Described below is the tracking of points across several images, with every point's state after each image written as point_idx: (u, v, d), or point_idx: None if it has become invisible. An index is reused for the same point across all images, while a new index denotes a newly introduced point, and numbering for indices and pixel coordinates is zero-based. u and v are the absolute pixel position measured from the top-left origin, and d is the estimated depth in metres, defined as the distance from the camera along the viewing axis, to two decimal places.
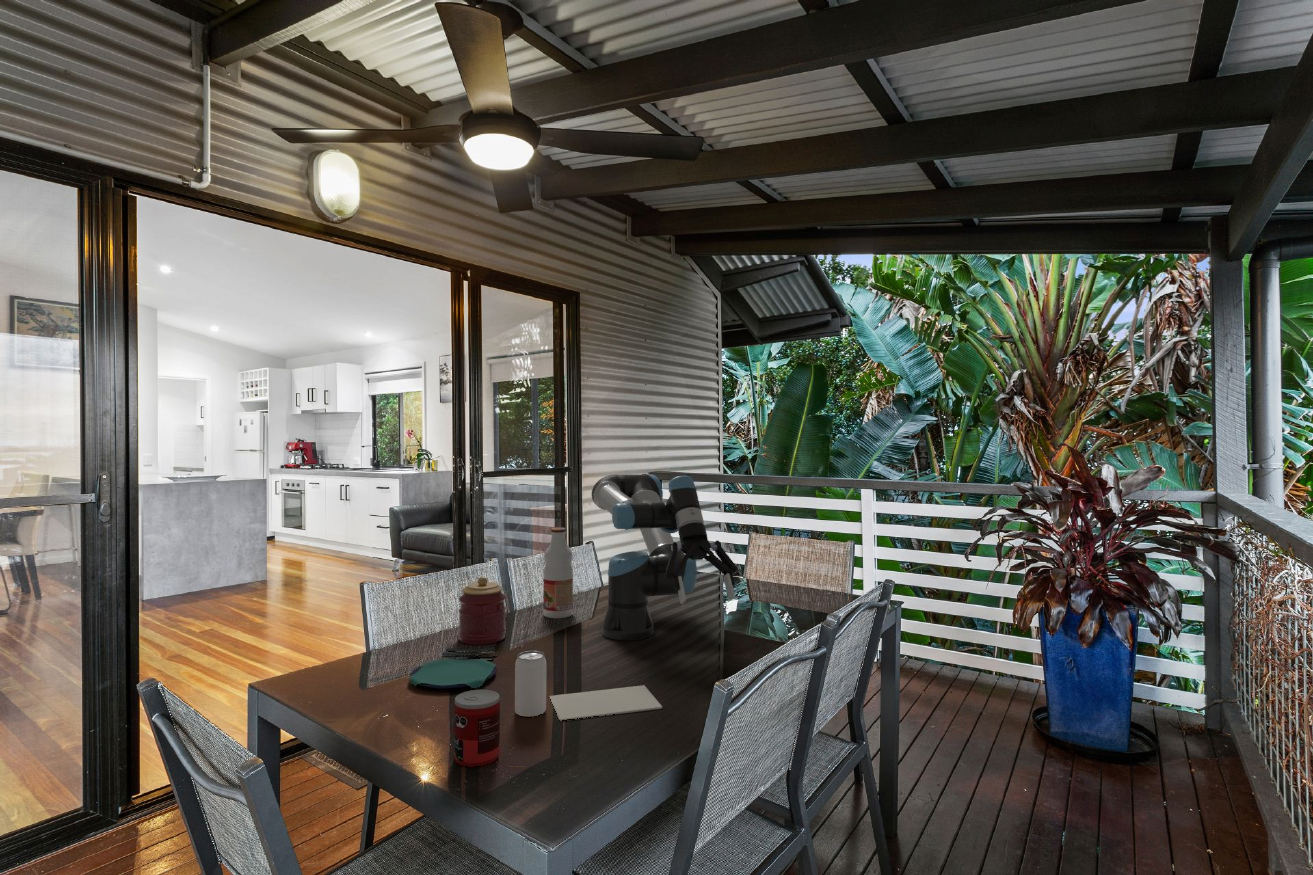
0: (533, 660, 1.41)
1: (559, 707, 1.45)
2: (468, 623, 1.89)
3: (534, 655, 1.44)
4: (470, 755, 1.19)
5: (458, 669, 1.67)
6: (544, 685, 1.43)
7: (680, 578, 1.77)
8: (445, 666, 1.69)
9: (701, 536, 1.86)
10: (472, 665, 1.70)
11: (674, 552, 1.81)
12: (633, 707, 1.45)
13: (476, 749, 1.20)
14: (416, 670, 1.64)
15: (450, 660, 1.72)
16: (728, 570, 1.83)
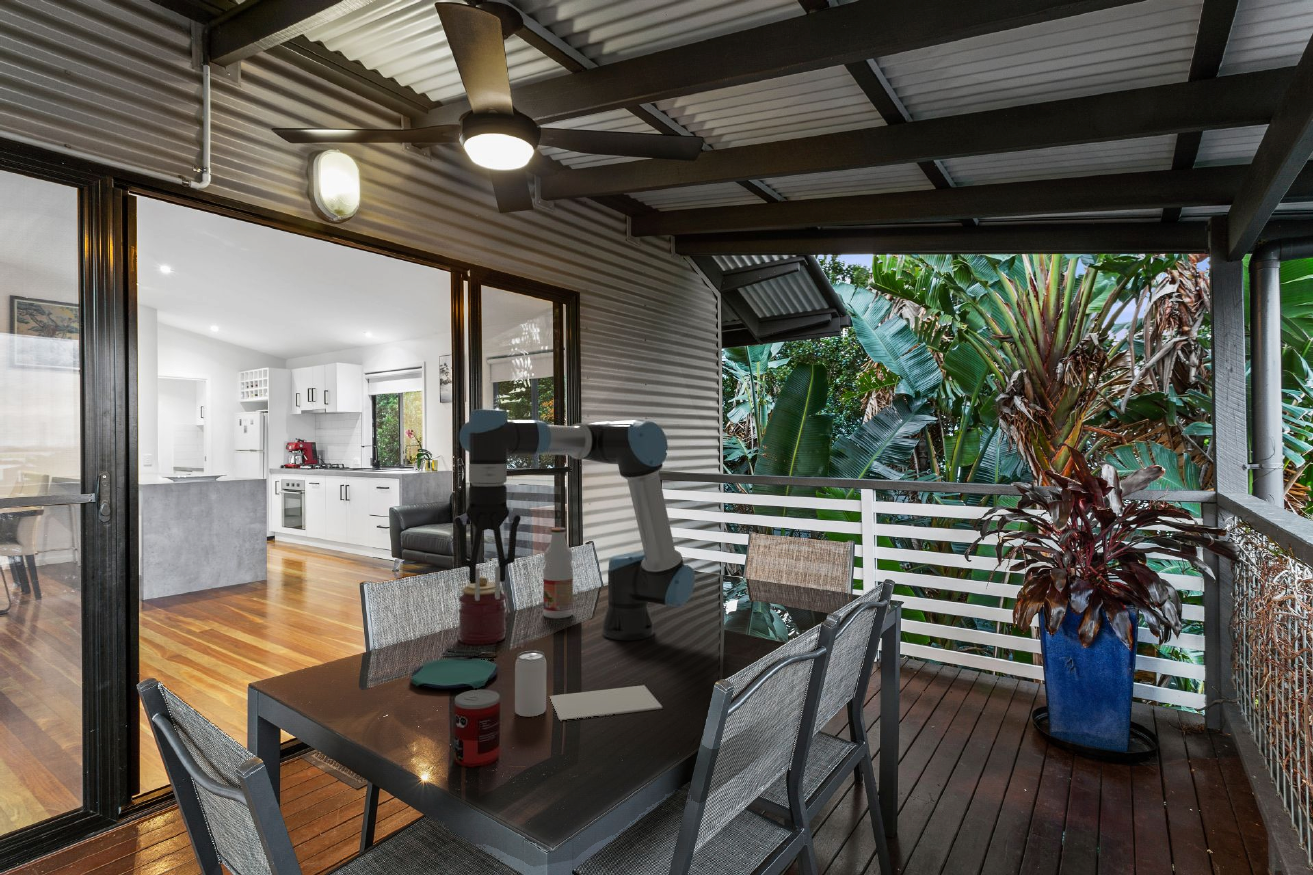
0: (533, 660, 1.41)
1: (559, 707, 1.45)
2: (468, 623, 1.89)
3: (534, 655, 1.44)
4: (470, 755, 1.19)
5: (459, 669, 1.67)
6: (544, 685, 1.43)
7: (477, 571, 1.39)
8: (446, 666, 1.69)
9: None
10: (473, 665, 1.70)
11: (461, 532, 1.38)
12: (633, 707, 1.45)
13: (476, 749, 1.20)
14: (417, 670, 1.64)
15: (451, 660, 1.72)
16: (501, 561, 1.40)
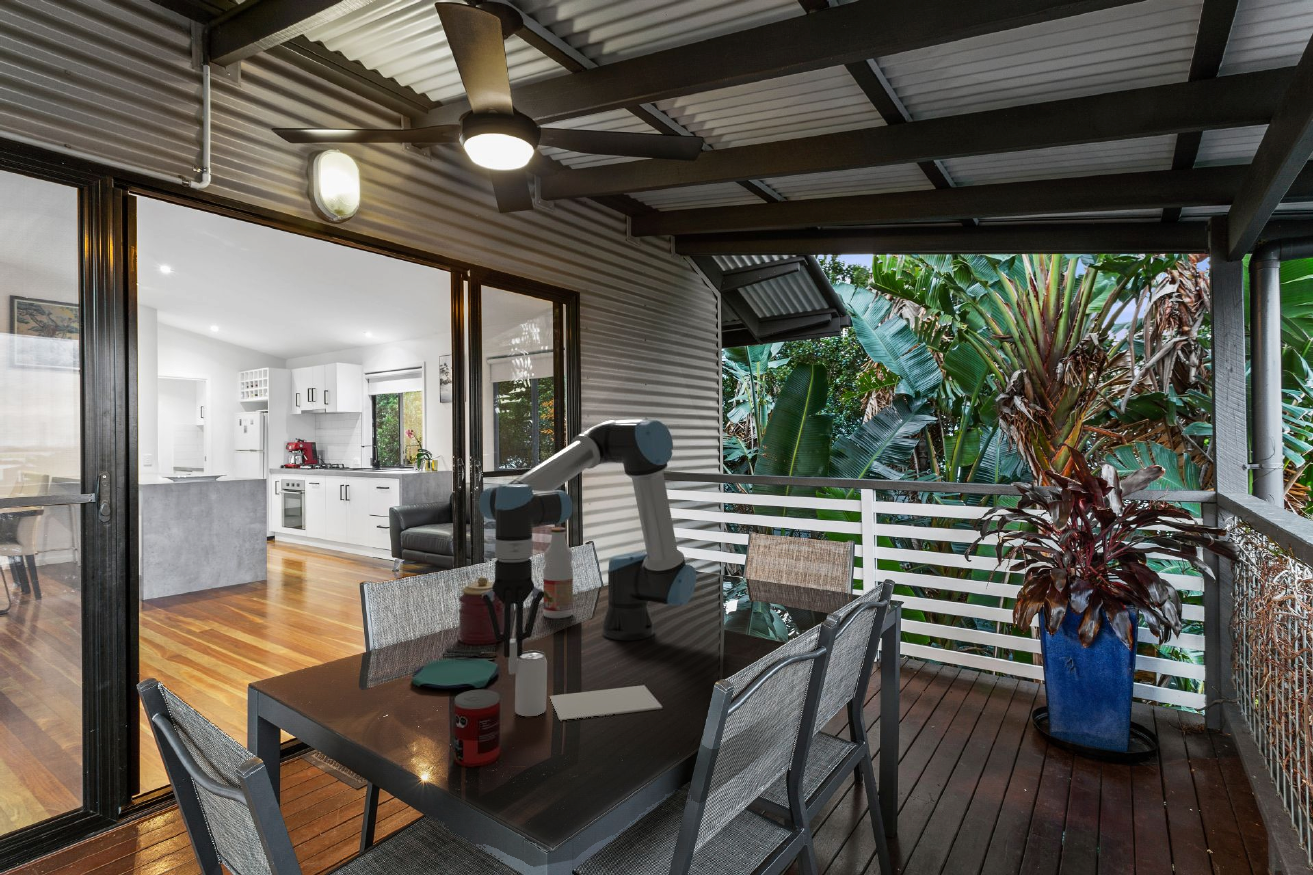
0: (534, 660, 1.41)
1: (559, 707, 1.45)
2: (468, 623, 1.89)
3: (535, 655, 1.44)
4: (470, 755, 1.19)
5: (460, 669, 1.67)
6: (544, 685, 1.43)
7: (511, 645, 1.41)
8: (446, 666, 1.68)
9: None
10: (474, 665, 1.70)
11: (490, 608, 1.40)
12: (633, 707, 1.45)
13: (476, 749, 1.20)
14: (418, 671, 1.64)
15: (451, 660, 1.71)
16: (518, 636, 1.42)
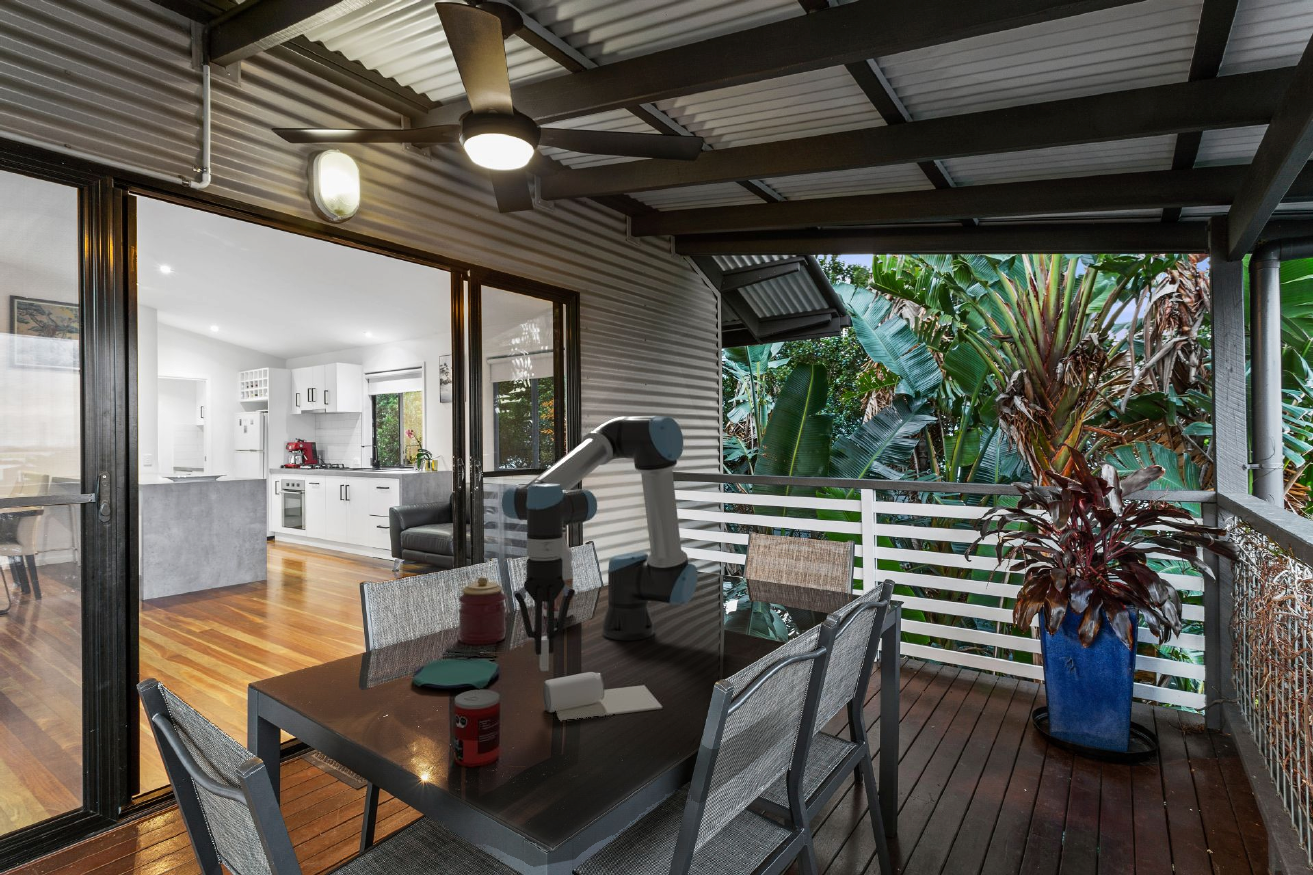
0: (602, 693, 1.46)
1: None
2: (468, 623, 1.89)
3: None
4: (470, 755, 1.19)
5: (460, 669, 1.67)
6: (575, 706, 1.45)
7: (543, 643, 1.43)
8: (447, 666, 1.68)
9: None
10: (474, 665, 1.70)
11: (522, 606, 1.42)
12: (633, 707, 1.45)
13: (476, 749, 1.20)
14: (418, 671, 1.64)
15: (452, 660, 1.71)
16: (550, 633, 1.44)
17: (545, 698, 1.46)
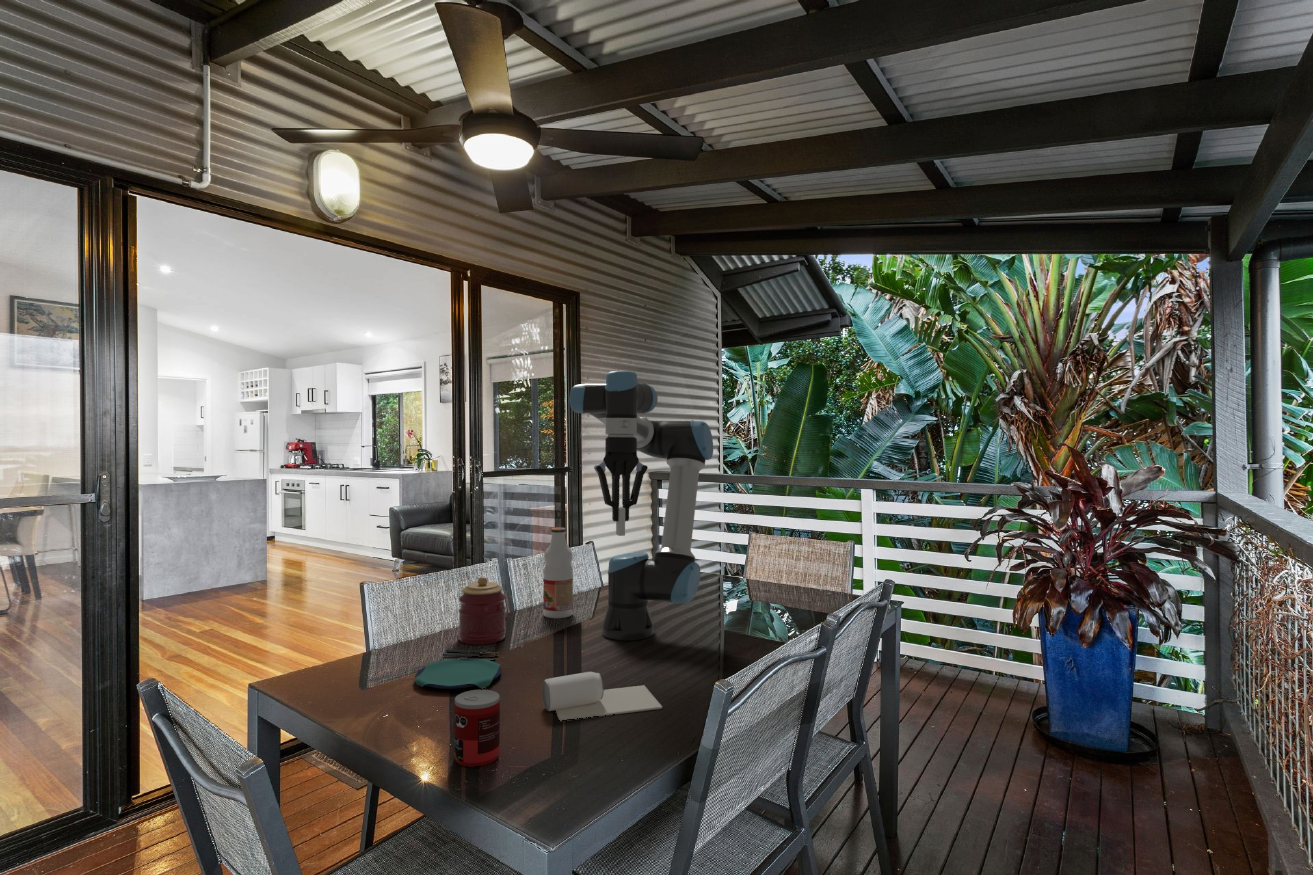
0: (601, 691, 1.47)
1: None
2: (468, 623, 1.89)
3: None
4: (470, 755, 1.19)
5: (462, 669, 1.66)
6: (575, 705, 1.45)
7: (620, 511, 1.62)
8: (448, 667, 1.68)
9: None
10: (476, 665, 1.70)
11: (603, 477, 1.61)
12: (633, 707, 1.45)
13: (476, 749, 1.20)
14: (420, 671, 1.63)
15: (453, 661, 1.71)
16: (626, 503, 1.63)
17: (545, 699, 1.46)
